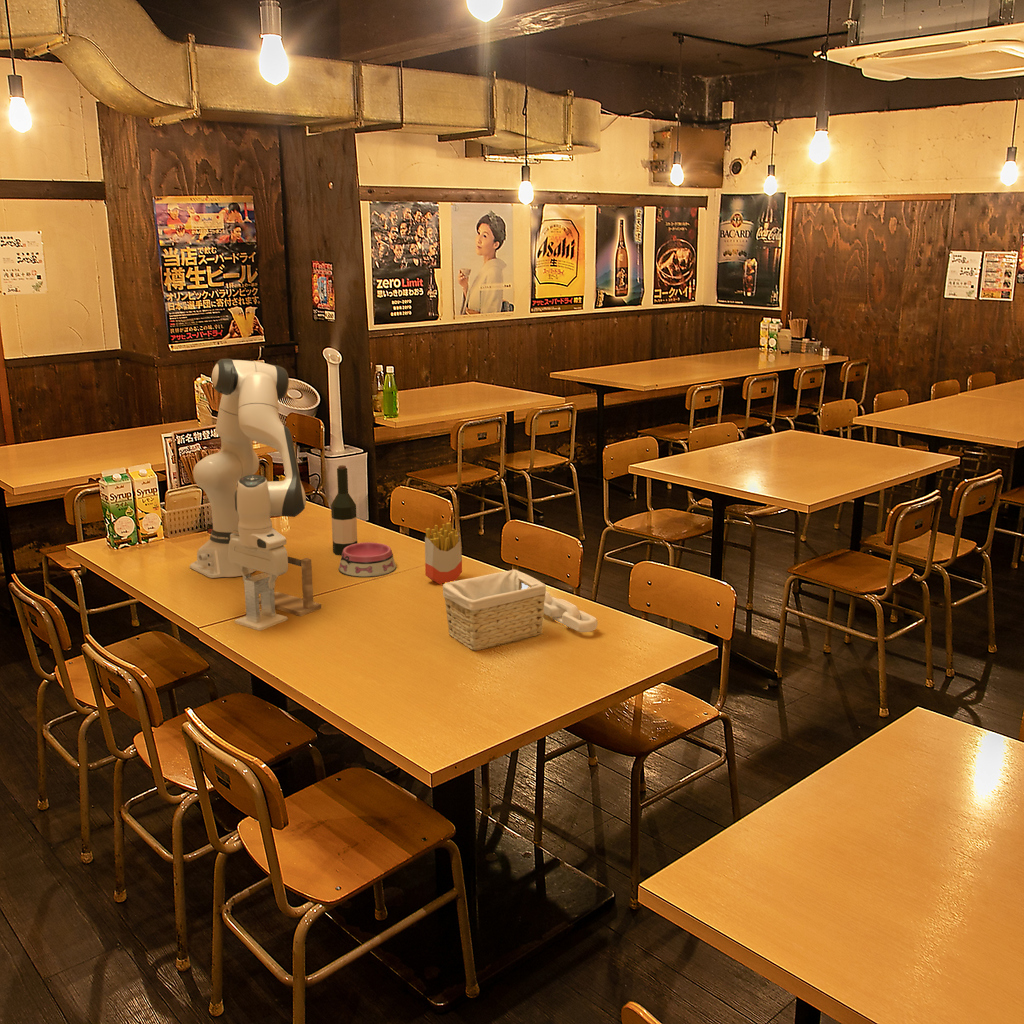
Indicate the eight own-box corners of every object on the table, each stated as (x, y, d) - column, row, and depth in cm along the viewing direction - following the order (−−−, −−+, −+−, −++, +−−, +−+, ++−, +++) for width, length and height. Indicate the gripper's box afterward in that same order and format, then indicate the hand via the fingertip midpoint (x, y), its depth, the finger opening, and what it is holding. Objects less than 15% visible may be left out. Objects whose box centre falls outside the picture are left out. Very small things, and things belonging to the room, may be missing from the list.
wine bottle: (327, 552, 329) (324, 466, 321) (347, 547, 334) (344, 462, 327) (343, 557, 323) (339, 469, 315) (362, 552, 329) (359, 466, 321)
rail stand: (257, 603, 280) (253, 552, 276) (278, 595, 287) (275, 545, 283) (300, 616, 271) (297, 563, 267) (321, 608, 277) (319, 556, 273)
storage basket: (470, 655, 246) (470, 600, 242) (440, 634, 259) (439, 582, 255) (548, 636, 258) (549, 584, 254) (515, 617, 271) (516, 567, 268)
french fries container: (462, 579, 302) (462, 524, 297) (433, 586, 296) (432, 530, 291) (454, 576, 305) (454, 521, 301) (425, 582, 299) (424, 526, 294)
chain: (519, 606, 280) (519, 586, 278) (536, 602, 283) (536, 582, 282) (582, 640, 256) (582, 618, 254) (600, 635, 259) (601, 613, 258)
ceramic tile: (234, 622, 266) (234, 620, 265) (262, 612, 273) (262, 609, 273) (259, 630, 260) (259, 628, 260) (287, 619, 268) (287, 617, 268)
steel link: (246, 620, 265) (243, 579, 262) (265, 613, 271) (263, 572, 267) (256, 623, 263) (253, 581, 260) (275, 616, 268) (273, 575, 265)
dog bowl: (406, 571, 310) (406, 551, 308) (353, 582, 300) (352, 561, 298) (381, 557, 325) (380, 537, 323) (329, 566, 315) (328, 546, 313)
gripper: (221, 532, 264) (224, 580, 267) (272, 545, 252) (275, 594, 256) (239, 526, 269) (242, 574, 272) (290, 539, 257) (293, 588, 261)
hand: (259, 584), depth 264 cm, fingers open, 8 cm apart
